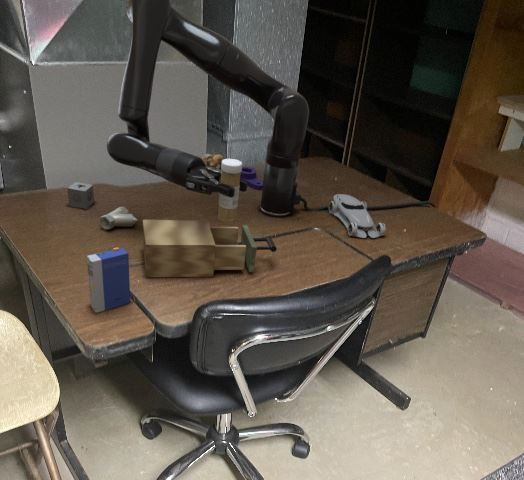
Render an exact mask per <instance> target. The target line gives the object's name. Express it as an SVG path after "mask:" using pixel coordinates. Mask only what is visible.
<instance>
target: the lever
mask: <svg viewBox="0 0 524 480" xmlns="http://www.w3.org/2000/svg"><path fill="white" fill-rule="evenodd" d="M257 171H258V170H257V169H256V168H253V167H250V166H242V171H241V174H240V180H242V181H245V182H247V187H250V188H252V189H254V190H260V191H262V188H263V180H262V179H260V178H259V177H258V176H257Z"/></svg>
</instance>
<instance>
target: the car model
mask: <svg viewBox="0 0 524 480" xmlns="http://www.w3.org/2000/svg"><path fill="white" fill-rule="evenodd" d="M328 206H329V209H328V213H329V215H332V216H334V217H335V218H337V219H338V220H339V221H340V222H341V223H342V224H343V225H344V226H345V228H346V230H347V234H348V235H349V236H350V237H355V238H361V239H366V238H367V237H369V238H370V239H376V238H379V237H383V236H384V235H385V234H386V230H387V229H386V224H385V223H383V222H378V223H377V224H376V225H375V224H374V221H373V219H372V217H371V214H370V213H369V212H368V210H367V207H368V204H367V202H366V201H363V200H362V201H360V200H359V199H357V198H356V197H355V196H352V195H350V194H344V193H343V194H342V193H340V194H339V193H337V194H334V195H333V200H331V201H330V202H329V204H328Z"/></svg>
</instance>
